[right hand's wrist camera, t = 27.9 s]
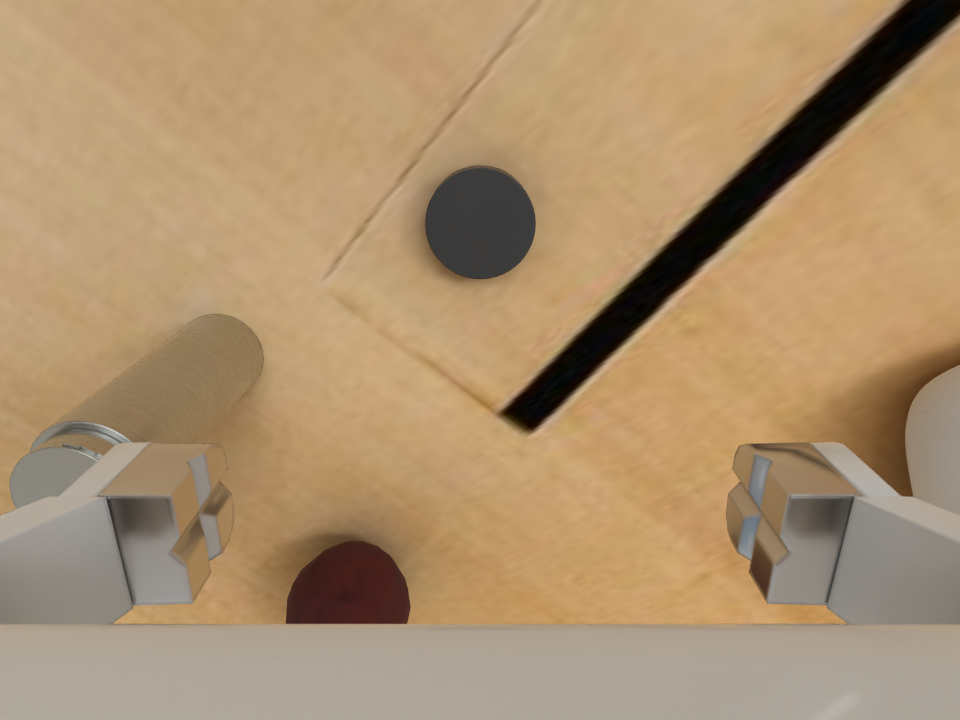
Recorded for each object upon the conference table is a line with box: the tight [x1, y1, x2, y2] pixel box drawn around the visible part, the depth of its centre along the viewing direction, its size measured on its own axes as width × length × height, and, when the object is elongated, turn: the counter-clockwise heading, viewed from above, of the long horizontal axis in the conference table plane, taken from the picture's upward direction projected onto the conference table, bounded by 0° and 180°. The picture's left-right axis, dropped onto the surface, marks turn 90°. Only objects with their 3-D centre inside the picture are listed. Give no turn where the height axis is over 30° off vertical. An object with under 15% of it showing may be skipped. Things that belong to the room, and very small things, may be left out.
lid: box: [425, 165, 535, 279], centre depth 34 cm, size 6×6×2 cm
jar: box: [10, 314, 263, 509], centre depth 30 cm, size 5×5×15 cm
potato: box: [286, 542, 410, 624], centre depth 39 cm, size 7×8×7 cm
